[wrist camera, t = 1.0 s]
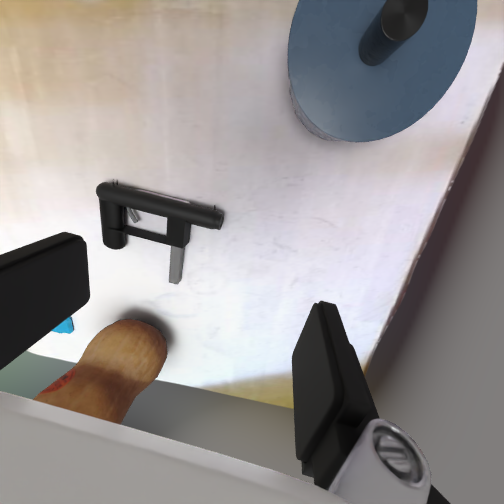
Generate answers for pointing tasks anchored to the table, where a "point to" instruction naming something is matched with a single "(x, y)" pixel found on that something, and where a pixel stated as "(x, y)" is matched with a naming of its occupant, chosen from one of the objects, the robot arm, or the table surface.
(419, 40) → the pot lid
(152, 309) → the table surface
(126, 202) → the door handle
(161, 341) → the butternut squash
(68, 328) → the sponge
